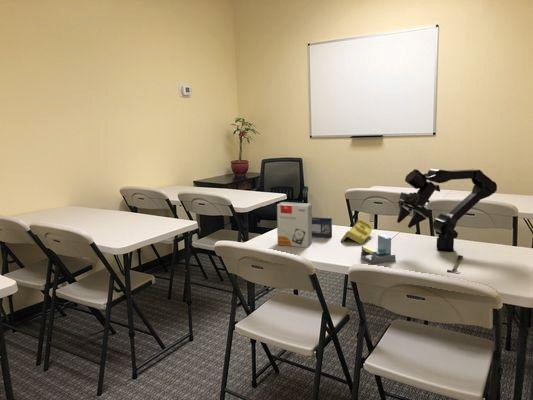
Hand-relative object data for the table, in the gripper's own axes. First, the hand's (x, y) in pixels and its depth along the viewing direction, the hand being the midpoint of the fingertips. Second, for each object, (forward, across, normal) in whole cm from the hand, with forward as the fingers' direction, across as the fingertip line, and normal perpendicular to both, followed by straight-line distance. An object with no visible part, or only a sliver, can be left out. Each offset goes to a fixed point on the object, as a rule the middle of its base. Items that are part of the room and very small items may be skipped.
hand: (403, 224), depth 177 cm
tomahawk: (+3, +19, +20) cm, 28 cm away
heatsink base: (+18, +4, -3) cm, 19 cm away
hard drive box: (+35, -27, -26) cm, 51 cm away
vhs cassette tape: (+28, -38, -16) cm, 49 cm away
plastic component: (+16, -28, +1) cm, 32 cm away
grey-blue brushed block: (+16, +4, -3) cm, 17 cm away
